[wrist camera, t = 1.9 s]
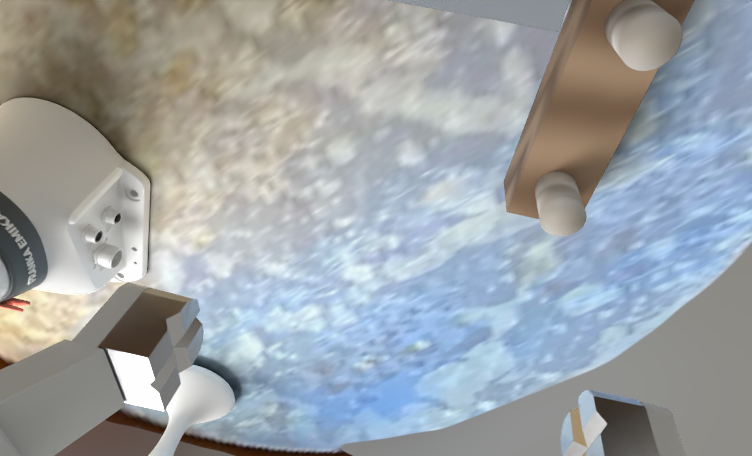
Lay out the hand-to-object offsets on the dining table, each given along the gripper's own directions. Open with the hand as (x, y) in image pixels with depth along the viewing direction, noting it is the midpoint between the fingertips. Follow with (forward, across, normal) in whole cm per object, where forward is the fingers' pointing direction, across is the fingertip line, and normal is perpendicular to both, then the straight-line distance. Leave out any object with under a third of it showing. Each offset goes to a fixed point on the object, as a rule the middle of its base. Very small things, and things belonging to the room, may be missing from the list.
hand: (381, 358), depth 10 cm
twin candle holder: (+32, -10, +4) cm, 33 cm away
